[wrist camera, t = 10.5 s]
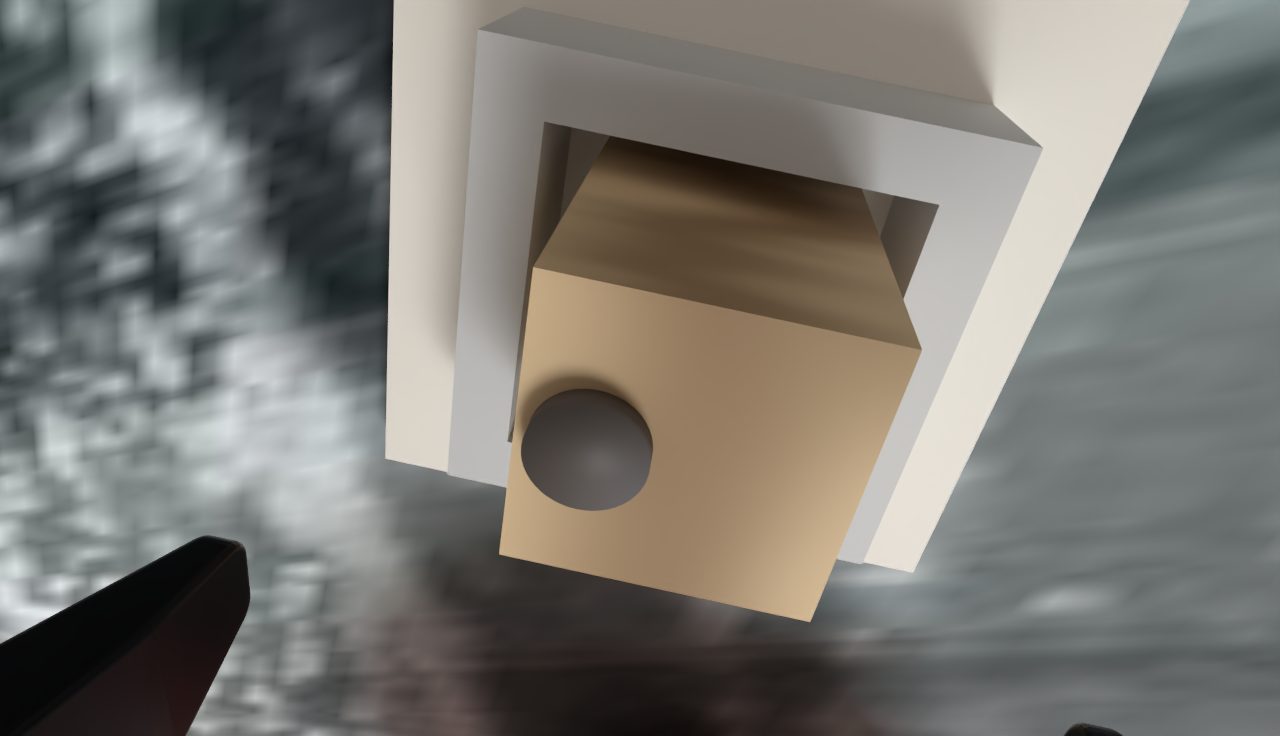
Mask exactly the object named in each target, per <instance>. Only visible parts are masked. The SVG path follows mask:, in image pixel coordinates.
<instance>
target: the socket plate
mask: <svg viewBox="0 0 1280 736" xmlns="http://www.w3.org/2000/svg"><path fill="white" fill-rule="evenodd" d="M1189 1H1190V0H394V25H393V79H392V133H391V187H390V240H389V294H388V348H387V402H386V456H385V459H390V460H394V461H399V462H404V463H408V464H413V465H417V466H422V467H427V468H431V469H436V470H441V471H445V472H447V475H451V476H455V477H460V478H465V479H469V480H474V481H478V482H483V483H488V484H492V485H497V486H501V487H506V488H507V482H508V474H509V466H510V457H511V449H512V440H513V432H514V423H515V415H516V407H517V398H518V390H519V381H520V373H521V365H522V356H523V348H524V339H525V331H526V322H527V314H528V306H529V297H530V289H531V280H532V272H533V266H534V265H535V263H536V261H537V260H538V258H539V256H540V254H541V253H542V251H543V249H544V248H545V246H546V244H547V242H548V241H549V239H550V237H551V236H552V234H553V232H554V231H555V229H556V227H557V225H558V224H559V222H560V220H561V219H562V217H563V215H564V214H565V212H566V210H567V208H568V207H569V205H570V203H571V202H572V200H573V198H574V196H575V195H576V193H577V191H578V190H579V188H580V186H581V185H582V183H583V181H584V179H585V178H586V176H587V174H588V173H589V171H590V169H591V168H592V166H593V164H594V162H595V161H596V159H597V157H598V156H599V154H600V152H601V150H602V149H603V147H604V145H605V144H606V142H607V140H608V139H609V137H610V136H615V137H620V138H625V139H629V140H634V141H639V142H644V143H648V144H653V145H658V146H663V147H667V148H672V149H677V150H682V151H686V152H691V153H696V154H701V155H705V156H710V157H715V158H720V159H724V160H729V161H734V162H738V163H743V164H748V165H753V166H757V167H762V168H767V169H772V170H776V171H781V172H786V173H791V174H795V175H800V176H805V177H810V178H814V179H819V180H824V181H829V182H833V183H838V184H843V185H848V186H852V187H857V188H862V191H863V194H864V196H865V199H866V202H867V204H868V207H869V210H870V212H871V215H872V218H873V220H874V223H875V226H876V228H877V231H878V234H879V236H880V239H881V242H882V244H883V247H884V250H885V252H886V255H887V258H888V260H889V263H890V266H891V268H892V271H893V274H894V276H895V279H896V282H897V284H898V287H899V289H900V292H901V295H902V297H903V300H904V303H905V305H906V308H907V311H908V313H909V316H910V319H911V321H912V324H913V327H914V329H915V332H916V335H917V337H918V340H919V343H920V345H921V348H922V352H921V354H920V357H919V359H918V362H917V364H916V367H915V369H914V371H913V374H912V376H911V379H910V381H909V384H908V386H907V388H906V391H905V393H904V396H903V398H902V401H901V403H900V405H899V408H898V410H897V413H896V415H895V418H894V420H893V422H892V425H891V427H890V430H889V432H888V435H887V437H886V439H885V442H884V444H883V447H882V449H881V452H880V454H879V456H878V459H877V461H876V464H875V466H874V469H873V471H872V473H871V476H870V478H869V481H868V483H867V486H866V488H865V490H864V493H863V495H862V498H861V500H860V503H859V505H858V507H857V510H856V512H855V515H854V517H853V520H852V522H851V524H850V527H849V529H848V532H847V534H846V537H845V539H844V541H843V544H842V546H841V549H840V551H839V554H838V556H837V558H836V559H839V560H843V561H848V562H853V563H857V564H862V563H863V562H866V563H870V564H875V565H879V566H884V567H889V568H893V569H898V570H903V571H907V572H912V573H913V572H914V570H915V568H916V566H917V564H918V561H919V559H920V557H921V555H922V553H923V551H924V549H925V547H926V545H927V543H928V541H929V539H930V537H931V535H932V533H933V530H934V528H935V526H936V524H937V522H938V520H939V518H940V516H941V514H942V512H943V510H944V508H945V506H946V504H947V502H948V499H949V497H950V495H951V493H952V491H953V489H954V487H955V485H956V483H957V481H958V479H959V477H960V475H961V473H962V471H963V468H964V466H965V464H966V462H967V460H968V458H969V456H970V454H971V452H972V450H973V448H974V446H975V444H976V442H977V440H978V437H979V435H980V433H981V431H982V429H983V427H984V425H985V423H986V421H987V419H988V417H989V415H990V413H991V411H992V409H993V406H994V404H995V402H996V400H997V398H998V396H999V394H1000V392H1001V390H1002V388H1003V386H1004V384H1005V382H1006V380H1007V377H1008V375H1009V373H1010V371H1011V369H1012V367H1013V365H1014V363H1015V361H1016V359H1017V357H1018V355H1019V353H1020V351H1021V349H1022V346H1023V344H1024V342H1025V340H1026V338H1027V336H1028V334H1029V332H1030V330H1031V328H1032V326H1033V324H1034V322H1035V320H1036V318H1037V315H1038V313H1039V311H1040V309H1041V307H1042V305H1043V303H1044V301H1045V299H1046V297H1047V295H1048V293H1049V291H1050V289H1051V287H1052V284H1053V282H1054V280H1055V278H1056V276H1057V274H1058V272H1059V270H1060V268H1061V266H1062V264H1063V262H1064V260H1065V258H1066V256H1067V253H1068V251H1069V249H1070V247H1071V245H1072V243H1073V241H1074V239H1075V237H1076V235H1077V233H1078V231H1079V229H1080V227H1081V225H1082V222H1083V220H1084V218H1085V216H1086V214H1087V212H1088V210H1089V208H1090V206H1091V204H1092V202H1093V200H1094V198H1095V196H1096V194H1097V191H1098V189H1099V187H1100V185H1101V183H1102V181H1103V179H1104V177H1105V175H1106V173H1107V171H1108V169H1109V167H1110V165H1111V163H1112V160H1113V158H1114V156H1115V154H1116V152H1117V150H1118V148H1119V146H1120V144H1121V142H1122V140H1123V138H1124V136H1125V134H1126V132H1127V129H1128V127H1129V125H1130V123H1131V121H1132V119H1133V117H1134V115H1135V113H1136V111H1137V109H1138V107H1139V105H1140V103H1141V101H1142V98H1143V96H1144V94H1145V92H1146V90H1147V88H1148V86H1149V84H1150V82H1151V80H1152V78H1153V76H1154V74H1155V72H1156V69H1157V67H1158V65H1159V63H1160V61H1161V59H1162V57H1163V55H1164V53H1165V51H1166V49H1167V47H1168V45H1169V43H1170V41H1171V38H1172V36H1173V34H1174V32H1175V30H1176V28H1177V26H1178V24H1179V22H1180V20H1181V18H1182V16H1183V14H1184V12H1185V10H1186V7H1187V5H1188V3H1189Z"/></svg>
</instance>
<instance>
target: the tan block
mask: <svg viewBox="0 0 1280 736" xmlns="http://www.w3.org/2000/svg"><path fill="white" fill-rule="evenodd" d="M921 352H922V348H921V345H920V343H919V340H918V337H917V335H916V332H915V329H914V327H913V324H912V321H911V319H910V316H909V313H908V311H907V308H906V305H905V303H904V300H903V297H902V295H901V292H900V289H899V287H898V284H897V282H896V279H895V276H894V274H893V271H892V268H891V266H890V263H889V260H888V258H887V255H886V252H885V250H884V247H883V244H882V242H881V239H880V236H879V234H878V231H877V228H876V226H875V223H874V220H873V218H872V215H871V212H870V210H869V207H868V204H867V202H866V199H865V196H864V194H863V191H862V188H857V187H852V186H848V185H843V184H838V183H833V182H829V181H824V180H819V179H814V178H810V177H805V176H800V175H795V174H791V173H786V172H781V171H776V170H772V169H767V168H762V167H757V166H753V165H748V164H743V163H738V162H734V161H729V160H724V159H720V158H715V157H710V156H705V155H701V154H696V153H691V152H686V151H682V150H677V149H672V148H667V147H663V146H658V145H653V144H648V143H644V142H639V141H634V140H629V139H625V138H620V137H615V136H610V137H609V139H608V140H607V142H606V144H605V145H604V147H603V149H602V150H601V152H600V154H599V156H598V157H597V159H596V161H595V162H594V164H593V166H592V168H591V169H590V171H589V173H588V174H587V176H586V178H585V179H584V181H583V183H582V185H581V186H580V188H579V190H578V191H577V193H576V195H575V196H574V198H573V200H572V202H571V203H570V205H569V207H568V208H567V210H566V212H565V214H564V215H563V217H562V219H561V220H560V222H559V224H558V225H557V227H556V229H555V231H554V232H553V234H552V236H551V237H550V239H549V241H548V242H547V244H546V246H545V248H544V249H543V251H542V253H541V254H540V256H539V258H538V260H537V261H536V263H535V265H534V266H533V272H532V280H531V289H530V297H529V306H528V314H527V322H526V331H525V339H524V348H523V356H522V365H521V373H520V381H519V390H518V398H517V407H516V415H515V423H514V432H513V440H512V449H511V457H510V466H509V474H508V482H507V491H506V499H505V508H504V516H503V524H502V533H501V541H500V550H499V555H504V556H509V557H513V558H518V559H522V560H527V561H532V562H536V563H541V564H545V565H550V566H555V567H559V568H564V569H568V570H573V571H578V572H582V573H587V574H591V575H596V576H600V577H605V578H610V579H614V580H619V581H623V582H628V583H633V584H637V585H642V586H646V587H651V588H656V589H660V590H665V591H669V592H674V593H678V594H683V595H688V596H692V597H697V598H701V599H706V600H711V601H715V602H720V603H724V604H729V605H734V606H738V607H743V608H747V609H752V610H757V611H761V612H766V613H770V614H775V615H779V616H784V617H789V618H793V619H798V620H802V621H807V622H810V621H811V619H812V617H813V614H814V612H815V609H816V607H817V604H818V602H819V600H820V597H821V595H822V592H823V590H824V588H825V585H826V583H827V580H828V578H829V575H830V573H831V571H832V568H833V566H834V563H835V561H836V558H837V556H838V554H839V551H840V549H841V546H842V544H843V541H844V539H845V537H846V534H847V532H848V529H849V527H850V524H851V522H852V520H853V517H854V515H855V512H856V510H857V507H858V505H859V503H860V500H861V498H862V495H863V493H864V490H865V488H866V486H867V483H868V481H869V478H870V476H871V473H872V471H873V469H874V466H875V464H876V461H877V459H878V456H879V454H880V452H881V449H882V447H883V444H884V442H885V439H886V437H887V435H888V432H889V430H890V427H891V425H892V422H893V420H894V418H895V415H896V413H897V410H898V408H899V405H900V403H901V401H902V398H903V396H904V393H905V391H906V388H907V386H908V384H909V381H910V379H911V376H912V374H913V371H914V369H915V367H916V364H917V362H918V359H919V357H920V354H921Z"/></svg>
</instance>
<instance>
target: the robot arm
mask: <svg viewBox="0 0 1280 736" xmlns="http://www.w3.org/2000/svg"><path fill="white" fill-rule="evenodd" d="M249 603H250V586H249V576H248V566H247V556H246V550H245V547H244V546H243V545H242V543H240V542H238V541H235V540H230V539H225V538H221V537H216V536H210V535H206V536H202V537H198V538H196V539H194V540H192V541H190V542H189V543H187V544H185V545H183V546H181V547H179V548H177V549H176V550H174V551H172V552H170V553H168V554H166V555H164V556H163V557H161V558H159V559H157V560H155V561H153V562H151V563H149V564H148V565H146V566H144V567H142V568H140V569H138V570H136V571H135V572H133V573H131V574H129V575H127V576H125V577H123V578H122V579H120V580H118V581H116V582H114V583H112V584H110V585H109V586H107V587H105V588H103V589H101V590H99V591H97V592H96V593H94V594H92V595H90V596H88V597H86V598H84V599H83V600H81V601H79V602H77V603H75V604H73V605H71V606H70V607H68V608H66V609H64V610H62V611H60V612H58V613H57V614H55V615H53V616H51V617H49V618H47V619H45V620H44V621H42V622H40V623H38V624H36V625H34V626H32V627H31V628H29V629H27V630H25V631H23V632H21V633H19V634H18V635H16V636H14V637H12V638H10V639H8V640H6V641H5V642H3V643H1V644H0V736H186V734H187V732H188V731H189V729H190V727H191V725H192V723H193V721H194V719H195V717H196V715H197V713H198V711H199V709H200V707H201V705H202V703H203V701H204V699H205V697H206V695H207V693H208V691H209V689H210V687H211V685H212V683H213V681H214V679H215V677H216V675H217V673H218V671H219V669H220V667H221V665H222V663H223V661H224V659H225V657H226V655H227V653H228V651H229V649H230V647H231V645H232V643H233V641H234V638H235V636H236V634H237V632H238V630H239V628H240V626H241V624H242V622H243V620H244V618H245V616H246V613H247V611H248V607H249ZM1064 736H1122V735H1121V734H1120V733H1118V732H1117V731H1115V730H1112V729H1109V728H1105V727H1100V726H1095V725H1091V724H1086V723H1077V724H1075V725H1072V726H1071V727H1070V728H1069V729H1068V731H1067V732H1066V733H1065V735H1064Z"/></svg>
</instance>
